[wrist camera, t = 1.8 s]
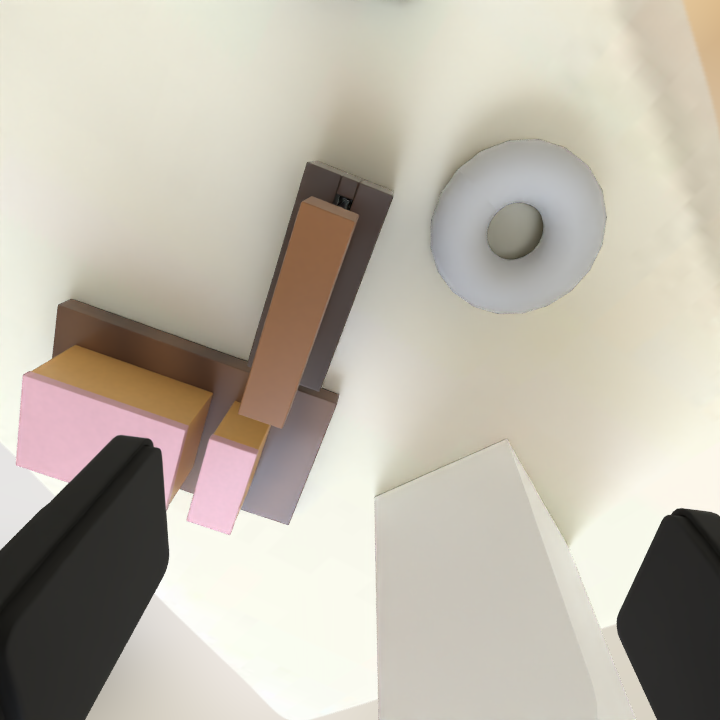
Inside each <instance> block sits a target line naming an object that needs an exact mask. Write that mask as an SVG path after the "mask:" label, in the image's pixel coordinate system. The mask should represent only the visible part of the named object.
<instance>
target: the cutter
mask: <svg viewBox="0 0 720 720" xmlns="http://www.w3.org/2000/svg"><path fill="white" fill-rule="evenodd" d="M348 204H349V201H348V200H344V201H343V202H342V203H341V204H340V205H339V206H336V205H333V204H331V203H328V202H326V201H323V200H321V199H318V198H316V197H313V196H311V197H309V198H307V199H306V200H304V201H302V202H301V205H300V208H299V211H298V214H297V218H296V221H295V224H294V228H293V231H292V234H291V238H290V241H289V244H288V248H287V251H286V254H285V258H284V261H283V264H282V268H281V271H280V274H279V277H278V281H277V284H276V287H275V291H274V294H273V297H272V301H271V304H270V307H269V311H268V314H267V317H266V321H265V324H264V327H263V331H262V334H261V337H260V340H259V344H258V347H257V350H256V354H255V357H254V360H253V364H252V367H251V370H250V374H249V377H248V380H247V384H246V387H245V390H244V393H243V397H242V400H241V403H240V407H239V410H238V414H240V415H243V416H246V417H249V418H251V419H254V420H257V421H260V422H263V423H266V424H269V425H272V426H274V427H277V428H280V429H282V428H283V426H284V424H285V421H286V419H287V416H288V414H289V411H290V409H291V406H292V404H293V401H294V398H295V395H296V392H297V390H298V387H299V384H300V381H301V378H302V376H303V373H304V370H305V367H306V364H307V361H308V359H309V356H310V353H311V350H312V347H313V344H314V342H315V339H316V336H317V333H318V330H319V328H320V325H321V322H322V319H323V316H324V313H325V311H326V308H327V305H328V302H329V299H330V297H331V294H332V291H333V288H334V285H335V282H336V280H337V277H338V274H339V271H340V268H341V265H342V263H343V260H344V257H345V254H346V251H347V249H348V246H349V243H350V240H351V237H352V234H353V232H354V229H355V226H356V223H357V220H358V218H359V215H358V214H356V213H354V212H351V211H349V210H347V207H348Z"/></svg>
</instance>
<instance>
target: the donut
mask: <svg viewBox="0 0 720 720" xmlns="http://www.w3.org/2000/svg"><path fill="white" fill-rule="evenodd" d="M512 203H526V204H529V205H532V206H533V207H534V208H536V209H537V210H538V211H539V212H540V214H541V216H542V219H543V224H544V227H543V235H542V237H541V239H540V242H539V244H538V245H537V246H536V247H535V249H534V250H533V251H532V252H530V253H529V254H527V255H526V256H524V257H521V258H518V259H510V260H507V259H504V258H500V257H499V256H498V255H496V254H495V253H494V252H493V251H492V249H491V248H490V246H489V244H488V240H487V230H488V227H489V224H490V222H491V220H492V218H493V217H494V216H495V214H496V213H497V212H498V211H499V210H501V209H502V208H503V207H505V206H506V205H509V204H512ZM606 219H607V215H606V209H605V203H604V197H603V191H602V188H601V187H600V185H599V183H598V181H597V180H596V178H595V176H594V174H593V173H592V171H591V169H590V167H589V166H588V165H587V164H585V163H584V162H583V161H582V160H580V159H579V158H578V157H577V156H575V155H574V154H573V153H572V152H571V151H569V150H568V149H567V148H565V147H562V146H559V145H555V144H552V143H549V142H546V141H543V140H540V139H529V140H509V141H506V142H504V143H501V144H498V145H496V146H493V147H490V148H488V149H485V150H482V151H481V152H479V153H478V154H477V155H475V156H474V157H473V158H472V159H470V160H469V161H468V162H466V163H465V164H464V165H463V166H461V167H460V168H459V169H458V170H457V171H456V172H455V174H454V175H453V176H452V178H451V179H450V181H449V182H448V184H447V185H446V186H445V188H444V189H443V191H442V192H441V193H440V196H439V199H438V202H437V205H436V208H435V211H434V214H433V217H432V220H431V250H432V254H433V257H434V260H435V263H436V267H437V270H438V272H439V274H440V275H441V277H442V278H443V279H444V281H445V282H446V283H447V285H448V286H449V288H450V289H451V290H452V292H454V293H455V294H457V295H458V296H459V297H461V298H462V299H464V300H465V301H467V302H468V303H469V304H471V305H472V306H474V307H477V308H480V309H483V310H487V311H490V312H493V313H497V314H512V313H526V312H529V311H532V310H535V309H539V308H542V307H545V306H548V305H550V304H551V303H553V302H555V301H556V300H558V299H559V298H561V297H562V296H564V295H565V294H567V293H569V292H570V291H571V290H572V289H573V288H574V287H575V286H576V285H577V284H578V283H579V282H580V280H581V279H582V278H583V277H584V276H585V275H586V274H587V273H588V272H589V270H590V269H591V267H592V265H593V263H594V261H595V259H596V257H597V255H598V252H599V250H600V248H601V246H602V244H603V237H604V231H605V225H606Z"/></svg>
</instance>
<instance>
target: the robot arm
mask: <svg viewBox="0 0 720 720" xmlns="http://www.w3.org/2000/svg"><path fill="white" fill-rule="evenodd" d="M168 561H169V545H168V531H167V517H166V503H165V489H164V475H163V461H162V452H161V450H160V448H157V447H154V445H153V442H152V440H151V439H149V438H141V437H134V436H126V435H117V436H116V437H114V438H113V439H112V440H111V441H110V442H109V443H108V444H107V445H106V446H105V447H104V448H103V449H102V450H101V451H100V452H99V453H98V454H97V455H96V456H95V457H94V458H93V459H92V460H91V461H90V462H89V463H88V464H87V465H86V466H85V467H84V468H83V469H82V470H81V471H80V472H79V473H78V474H77V475H76V476H75V477H74V478H73V479H72V480H71V481H70V482H69V483H68V485H67V486H66V487H65V488H64V489H63V490H62V491H61V492H60V493H59V494H58V495H57V496H56V497H55V498H54V499H53V500H52V501H51V502H50V503H49V504H47V505H46V506H45V507H44V508H42V509H41V510H40V511H39V512H38V513H37V514H36V515H35V516H34V517H33V518H32V519H31V520H30V521H29V522H28V523H27V524H26V525H25V526H24V527H23V528H22V529H21V530H20V531H19V532H18V533H17V534H16V535H15V536H14V537H13V538H12V539H11V540H10V541H9V542H8V543H7V544H6V545H5V546H4V547H3V548H2V549H1V550H0V720H85V719H86V717H87V715H88V713H89V711H90V710H91V708H92V706H93V704H94V702H95V700H96V698H97V697H98V695H99V693H100V691H101V689H102V688H103V686H104V684H105V682H106V680H107V679H108V677H109V675H110V673H111V671H112V669H113V667H114V666H115V664H116V662H117V660H118V658H119V657H120V654H121V653H122V651H123V649H124V647H125V645H126V643H127V642H128V640H129V638H130V636H131V635H132V633H133V631H134V629H135V627H136V625H137V624H138V622H139V620H140V618H141V616H142V615H143V613H144V611H145V609H146V607H147V605H148V604H149V602H150V600H151V598H152V596H153V594H154V593H155V591H156V589H157V587H158V585H159V583H160V582H161V580H162V578H163V576H164V574H165V572H166V569H167V565H168ZM617 631H618V635H619V638H620V640H621V642H622V645H623V647H624V649H625V651H626V653H627V655H628V658H629V660H630V662H631V664H632V666H633V668H634V671H635V673H636V675H637V677H638V679H639V682H640V684H641V686H642V688H643V690H644V692H645V694H646V697H647V699H648V701H649V703H650V705H651V708H652V710H653V712H654V714H655V716H656V718H657V720H720V516H719V515H717V514H715V513H712V512H707V511H699V510H691V509H684V508H680V509H676V510H675V511H673V513H672V514H671V515H667V516H665V517H664V518H663V520H662V522H661V524H660V526H659V528H658V530H657V532H656V534H655V537H654V539H653V541H652V543H651V545H650V547H649V549H648V552H647V554H646V556H645V558H644V560H643V562H642V564H641V567H640V569H639V571H638V573H637V575H636V577H635V579H634V582H633V584H632V586H631V588H630V590H629V592H628V594H627V597H626V599H625V601H624V603H623V605H622V607H621V609H620V612H619V614H618V617H617Z"/></svg>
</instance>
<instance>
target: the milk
mask: <svg viewBox="0 0 720 720" xmlns="http://www.w3.org/2000/svg"><path fill="white" fill-rule="evenodd" d="M374 508H375V561H376V613H377V666H378V716H379V717H378V718H379V720H636V717H635V715H634V712H633V710H632V707H631V705H630V702H629V699H628V697H627V694H626V692H625V689H624V687H623V684H622V682H621V679H620V677H619V674H618V672H617V669H616V667H615V664H614V661H613V659H612V656H611V654H610V651H609V648H608V646H607V644H606V641H605V638H604V636H603V633H602V631H601V628H600V626H599V623H598V620H597V618H596V615H595V613H594V610H593V608H592V605H591V603H590V600H589V597H588V595H587V592H586V590H585V587H584V585H583V582H582V580H581V577H580V575H579V572H578V569H577V567H576V564H575V562H574V559H573V557H572V554H571V552H570V549H569V547H568V545H567V543H566V542H565V540H564V538H563V536H562V534H561V533H560V531H559V529H558V527H557V526H556V524H555V522H554V520H553V519H552V517H551V515H550V513H549V512H548V510H547V508H546V506H545V505H544V503H543V501H542V499H541V497H540V496H539V494H538V492H537V490H536V489H535V487H534V485H533V483H532V482H531V480H530V478H529V476H528V475H527V473H526V471H525V469H524V468H523V466H522V464H521V462H520V461H519V459H518V457H517V455H516V453H515V452H514V450H513V448H512V446H511V445H510V443H509V441H508V439H505V440H503V441H501V442H498V443H496V444H494V445H492V446H489V447H487V448H485V449H482V450H480V451H478V452H476V453H473V454H471V455H469V456H467V457H464V458H462V459H460V460H458V461H455V462H453V463H451V464H449V465H446V466H444V467H442V468H439V469H437V470H435V471H433V472H430V473H428V474H426V475H424V476H421V477H419V478H417V479H415V480H412V481H410V482H408V483H406V484H403V485H401V486H399V487H396V488H394V489H392V490H390V491H387V492H385V493H383V494H381V495H378V496H376V497H374Z"/></svg>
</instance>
